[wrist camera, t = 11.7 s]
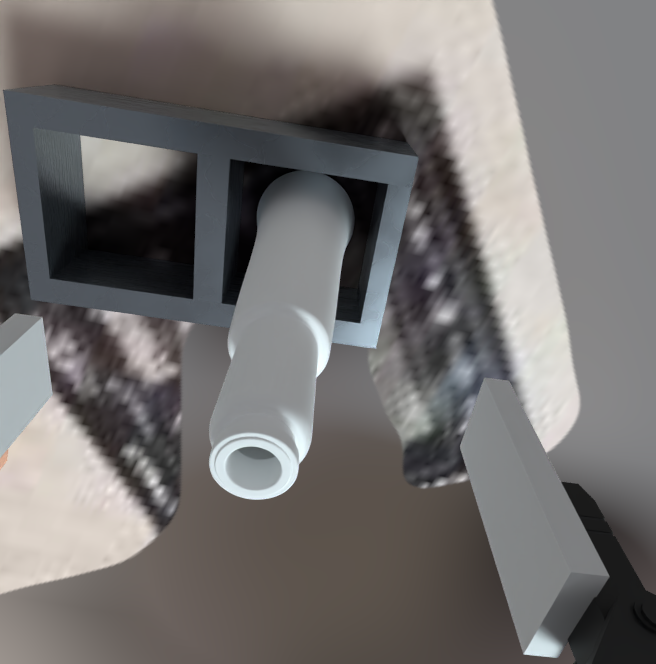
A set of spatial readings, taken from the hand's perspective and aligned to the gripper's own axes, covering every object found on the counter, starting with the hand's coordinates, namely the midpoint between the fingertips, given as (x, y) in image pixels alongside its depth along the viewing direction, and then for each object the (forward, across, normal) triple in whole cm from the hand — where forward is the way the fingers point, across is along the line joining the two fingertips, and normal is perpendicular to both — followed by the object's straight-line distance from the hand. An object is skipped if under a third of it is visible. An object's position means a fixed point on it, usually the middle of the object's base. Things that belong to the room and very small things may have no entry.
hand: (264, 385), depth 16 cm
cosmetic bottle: (+19, 0, 0) cm, 19 cm away
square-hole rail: (+19, -4, 0) cm, 19 cm away
